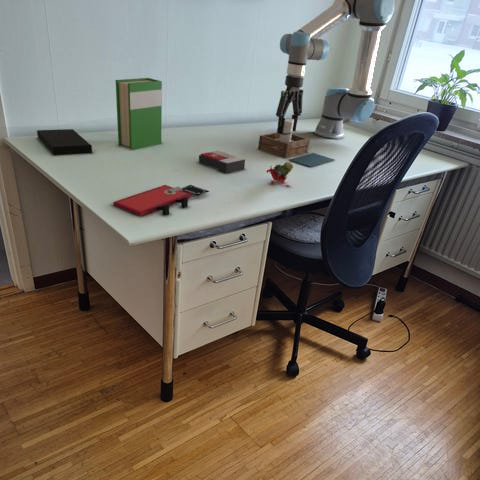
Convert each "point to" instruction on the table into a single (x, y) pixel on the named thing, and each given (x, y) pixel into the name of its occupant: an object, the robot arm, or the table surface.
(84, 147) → the external hard drive
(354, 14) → the robot arm
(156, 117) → the hardback book
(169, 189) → the red board with handle
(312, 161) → the mat
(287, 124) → the ink box
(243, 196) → the table surface
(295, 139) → the crate
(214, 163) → the calculator
